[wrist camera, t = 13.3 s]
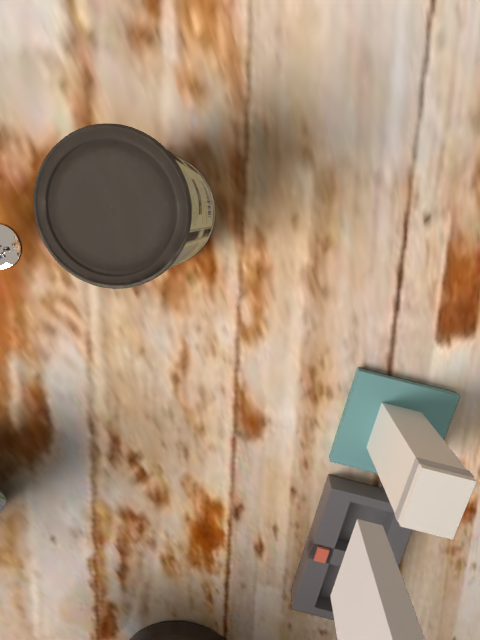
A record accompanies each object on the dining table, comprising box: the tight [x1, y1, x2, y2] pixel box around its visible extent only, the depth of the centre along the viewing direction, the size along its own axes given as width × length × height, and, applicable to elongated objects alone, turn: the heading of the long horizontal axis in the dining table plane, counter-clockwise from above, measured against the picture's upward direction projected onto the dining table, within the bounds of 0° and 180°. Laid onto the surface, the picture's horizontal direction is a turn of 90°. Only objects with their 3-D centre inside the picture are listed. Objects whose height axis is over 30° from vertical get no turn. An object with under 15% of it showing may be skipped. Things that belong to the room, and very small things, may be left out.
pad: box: [329, 368, 460, 474], centre depth 45 cm, size 10×10×1 cm
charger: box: [367, 402, 476, 540], centre depth 39 cm, size 5×4×12 cm
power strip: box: [291, 475, 412, 620], centre depth 48 cm, size 15×9×3 cm, turn 166°
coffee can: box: [33, 124, 215, 289], centre depth 36 cm, size 10×10×14 cm
